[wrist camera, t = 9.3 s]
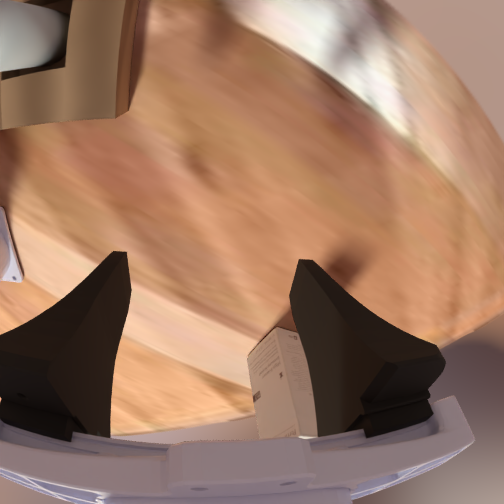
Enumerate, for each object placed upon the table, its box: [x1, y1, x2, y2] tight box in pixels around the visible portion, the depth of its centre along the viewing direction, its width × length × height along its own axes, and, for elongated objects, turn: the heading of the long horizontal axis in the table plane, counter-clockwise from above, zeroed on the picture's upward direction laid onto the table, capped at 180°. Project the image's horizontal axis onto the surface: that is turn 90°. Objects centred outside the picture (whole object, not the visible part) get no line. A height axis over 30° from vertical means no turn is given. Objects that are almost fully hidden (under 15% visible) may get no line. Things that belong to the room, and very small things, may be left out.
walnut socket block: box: [0, 0, 139, 130], centre depth 12 cm, size 12×12×3 cm
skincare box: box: [247, 327, 318, 439], centre depth 27 cm, size 6×4×12 cm
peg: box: [0, 0, 70, 72], centre depth 10 cm, size 4×4×7 cm
